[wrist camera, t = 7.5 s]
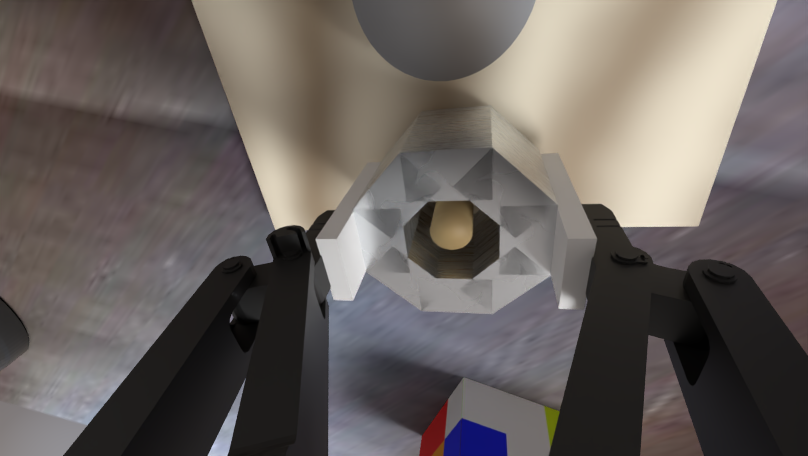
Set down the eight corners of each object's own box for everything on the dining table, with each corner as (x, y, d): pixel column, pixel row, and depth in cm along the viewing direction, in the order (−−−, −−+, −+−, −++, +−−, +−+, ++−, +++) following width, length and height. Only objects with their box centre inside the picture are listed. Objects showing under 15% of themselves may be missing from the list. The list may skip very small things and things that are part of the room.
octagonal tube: (397, 243, 20) (374, 308, 16) (376, 114, 16) (339, 156, 12) (532, 243, 18) (546, 316, 14) (542, 100, 15) (564, 143, 11)
